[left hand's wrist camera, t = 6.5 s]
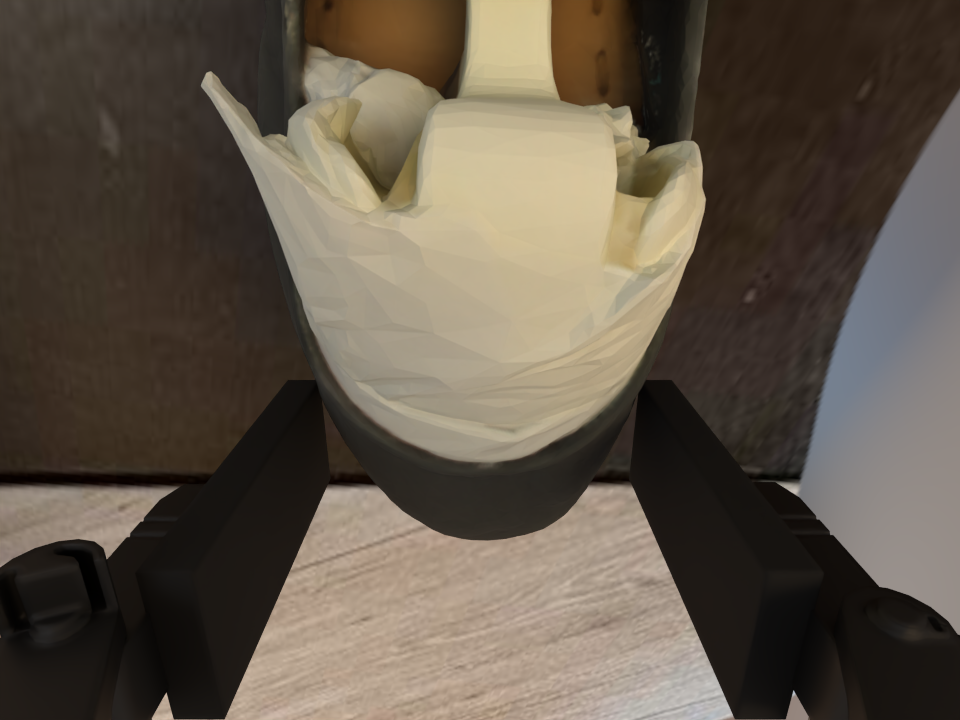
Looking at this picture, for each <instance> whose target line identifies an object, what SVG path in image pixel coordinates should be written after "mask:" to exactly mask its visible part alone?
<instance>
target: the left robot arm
mask: <svg viewBox="0 0 960 720" xmlns="http://www.w3.org/2000/svg"><path fill="white" fill-rule="evenodd" d="M629 479H630V481H631V484H632V486H633V488H634V491H635V493H636V495H637V497H638V500H639V502H640V504H641V506H642V509H643V511H644V513H645V516H646V518H647V520H648V522H649V525H650V527H651V529H652V532H653V534H654V536H655V538H656V541H657V543H658V545H659V547H660V550H661V552H662V554H663V557H664V559H665V561H666V563H667V566H668V568H669V570H670V572H671V575H672V577H673V579H674V582H675V584H676V586H677V588H678V591H679V593H680V595H681V598H682V600H683V602H684V604H685V607H686V609H687V611H688V613H689V616H690V618H691V620H692V623H693V625H694V627H695V629H696V632H697V634H698V636H699V639H700V641H701V643H702V645H703V648H704V650H705V652H706V654H707V657H708V659H709V661H710V664H711V666H712V668H713V670H714V673H715V675H716V677H717V680H718V682H719V684H720V686H721V689H722V691H723V693H724V695H725V698H726V700H727V702H728V705H729V707H730V709H731V711H732V714H733V716H734V718H735V719H786V716H787V712H788V709H789V705H790V701H791V697H792V694H793V690H794V691H795V693H796V695H797V697H798V698H799V700H800V702H801V704H802V705H803V707H804V709H805V711H806V713H807V714H808V716H809V718H808V720H960V635H958V634H957V633H956V632H955V630H954V629H953V627H952V626H951V625H950V623H949V622H948V621H947V620H946V619H945V618H943V617H942V616H941V615H940V614H938V613H937V612H936V611H935V610H934V609H932V608H931V607H929V606H928V605H926V604H924V603H922V602H920V601H918V600H917V599H915V598H913V597H911V596H909V595H906V594H903V593H900V592H897V591H894V590H891V589H888V588H882V587H879V586H878V585H877V584H876V583H875V582H874V580H873V579H872V578H871V577H870V576H869V575H868V574H867V573H866V571H865V570H864V569H863V568H862V567H861V566H860V565H859V564H858V562H857V561H856V560H855V559H854V558H853V557H852V556H851V555H850V554H849V552H848V551H847V550H846V549H845V548H844V547H843V546H842V545H841V543H840V542H839V541H838V540H837V539H836V538H835V537H834V536H833V535H830V531H829V530H828V529H827V528H826V527H825V525H824V524H823V523H822V522H821V521H820V520H817V519H816V515H815V514H814V513H813V512H812V511H811V510H810V509H809V507H808V506H807V505H806V504H805V503H804V502H803V501H802V500H801V499H800V498H799V497H798V496H796V495H795V494H793V493H791V492H790V491H788V490H787V489H785V488H784V487H782V486H780V485H779V484H777V483H776V482H752V481H751V480H750V478H749V477H748V476H747V475H746V473H745V472H744V471H743V470H742V468H741V467H740V466H739V465H738V463H737V462H736V461H735V460H734V458H733V457H732V456H731V455H730V453H729V452H728V451H727V449H726V448H725V447H724V446H723V444H722V443H721V442H720V441H719V439H718V438H717V437H716V436H715V434H714V433H713V432H712V431H711V429H710V428H709V427H708V426H707V424H706V423H705V422H704V420H703V419H702V418H701V417H700V415H699V414H698V413H697V412H696V410H695V409H694V408H693V407H692V405H691V404H690V403H689V402H688V400H687V399H686V398H685V397H684V395H683V394H682V393H681V392H680V390H679V389H678V388H677V386H676V385H675V384H674V383H673V381H672V380H645V382H644V384H643V386H642V388H641V390H640V391H639V393H638V402H637V411H636V420H635V430H634V439H633V448H632V458H631V467H630V476H629ZM329 480H330V471H329V462H328V453H327V443H326V434H325V425H324V415H323V406H322V398H321V396H320V392H319V389H318V385H317V382H316V380H288V381H287V382H286V383H285V385H284V386H283V387H282V388H281V390H280V391H279V392H278V393H277V395H276V396H275V397H274V398H273V400H272V401H271V402H270V404H269V405H268V406H267V407H266V409H265V410H264V411H263V412H262V414H261V415H260V416H259V417H258V419H257V420H256V421H255V422H254V424H253V425H252V426H251V427H250V429H249V430H248V431H247V432H246V434H245V435H244V436H243V438H242V439H241V440H240V441H239V443H238V444H237V445H236V446H235V448H234V449H233V450H232V451H231V453H230V454H229V455H228V456H227V458H226V459H225V460H224V461H223V463H222V464H221V465H220V466H219V468H218V469H217V470H216V472H215V473H214V474H213V475H212V477H211V478H210V479H209V480H208V482H207V483H206V484H184V485H182V486H181V487H179V488H178V489H176V490H175V491H173V492H171V493H170V494H168V495H167V496H165V497H164V498H162V499H160V500H159V502H158V503H157V504H156V505H155V506H154V507H153V508H152V509H151V511H150V512H149V513H148V514H147V515H146V516H145V517H144V521H143V522H140V523H139V524H138V525H137V526H136V527H135V529H134V530H133V531H132V532H131V533H130V537H127V538H126V539H125V540H124V541H123V542H122V543H121V544H120V546H119V547H118V548H117V549H116V550H115V551H114V552H113V553H112V555H111V556H110V557H109V558H108V559H106V556H105V552H104V549H103V548H102V547H101V546H100V545H98V544H97V543H96V542H94V541H87V540H81V539H75V540H67V541H58V542H54V543H51V544H48V545H44V546H41V547H38V548H34V549H32V550H30V551H28V552H26V553H24V554H22V555H20V556H18V557H16V558H13V559H12V560H10V561H9V562H7V563H6V564H5V565H3V566H2V567H0V635H1V638H0V720H152V717H153V715H154V713H155V711H156V710H157V708H158V706H159V704H160V702H161V701H162V699H163V697H164V695H165V694H166V692H167V696H168V699H169V703H170V707H171V711H172V714H173V718H174V719H225V717H226V715H227V713H228V710H229V708H230V706H231V704H232V701H233V699H234V697H235V694H236V692H237V690H238V688H239V685H240V683H241V681H242V678H243V676H244V674H245V672H246V669H247V667H248V665H249V663H250V660H251V658H252V656H253V653H254V651H255V649H256V647H257V644H258V642H259V640H260V637H261V635H262V633H263V631H264V628H265V626H266V624H267V622H268V619H269V617H270V615H271V612H272V610H273V608H274V606H275V603H276V601H277V599H278V597H279V594H280V592H281V590H282V587H283V585H284V583H285V581H286V578H287V576H288V574H289V571H290V569H291V567H292V565H293V562H294V560H295V558H296V556H297V553H298V551H299V549H300V546H301V544H302V542H303V540H304V537H305V535H306V533H307V530H308V528H309V526H310V524H311V521H312V519H313V517H314V515H315V512H316V510H317V508H318V505H319V503H320V501H321V499H322V496H323V494H324V492H325V490H326V487H327V485H328V483H329Z"/></svg>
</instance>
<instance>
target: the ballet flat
mask: <svg viewBox="0 0 960 720" xmlns="http://www.w3.org/2000/svg"><path fill="white" fill-rule="evenodd" d="M707 4H708V0H265V8H266V20H265V24H264V28H263V32H262V36H261V42H260V50H259V66H258V126H257V124H256V122H255V121H254V119H253V117H252V116H251V114H250V113H249V111H248V110H247V108H246V107H245V106H244V105H242V104H241V103H239V102H237V101H236V100H235V98H234V97H233V96H232V95H231V94H230V93H229V92H228V91H227V90H226V88H225V87H224V86H223V85H222V84H221V82H220V80H219V78H218V77H217V76H216V75H215V74H213V73H212V72H207V73H206V75H205V77H204V80H203V82H202V84H201V87H202V88H203V89H204V91H205V92H206V93H207V94H208V96H209V97H210V98H211V100H212V102H213V103H214V105H215V106H216V108H217V110H218V111H219V113H220V115H221V116H222V118H223V120H224V121H225V123H226V124H227V126H228V128H229V129H230V131H231V133H232V134H233V136H234V138H235V140H236V142H237V144H238V146H239V148H240V150H241V152H242V154H243V156H244V158H245V160H246V162H247V164H248V166H249V168H250V170H251V172H252V174H253V176H254V179H255V181H256V183H257V186H258V188H259V191H260V193H261V196H262V198H263V201H264V206H265V213H266V219H267V225H268V230H269V235H270V239H271V244H272V248H273V253H274V257H275V262H276V266H277V270H278V274H279V277H280V281H281V284H282V288H283V291H284V294H285V298H286V301H287V305H288V308H289V312H290V315H291V319H292V322H293V325H294V327H295V330H296V333H297V336H298V338H299V341H300V344H301V346H302V349H303V352H304V354H305V356H306V358H307V361H308V363H309V365H310V367H311V370H312V372H313V375H314V377H315V380H316V382H317V385H318V389H319V392H320V396H321V398H322V400H323V402H324V404H325V406H326V409H327V411H328V413H329V415H330V417H331V419H332V420H333V422H334V424H335V426H336V427H337V429H338V431H339V433H340V434H341V436H342V438H343V440H344V441H345V443H346V444H347V446H348V447H349V449H350V450H351V451H352V453H353V454H354V456H355V457H356V458H357V460H358V461H359V463H360V464H361V466H362V467H363V469H364V470H365V471H366V472H367V474H368V475H369V476H370V477H371V479H372V480H373V481H374V483H375V484H376V485H377V486H378V487H379V488H380V489H381V490H382V491H383V492H384V493H385V494H386V495H387V496H388V498H389V499H390V500H391V501H392V502H394V503H395V504H396V505H397V506H398V507H399V508H400V509H401V510H402V511H404V512H405V513H407V514H408V515H410V516H411V517H413V518H414V519H416V520H418V521H420V522H421V523H423V524H425V525H426V526H428V527H429V528H431V529H433V530H435V531H437V532H439V533H442V534H444V535H448V536H452V537H457V538H461V539H468V540H498V539H507V538H511V537H516V536H521V535H526V534H529V533H532V532H535V531H538V530H541V529H544V528H546V527H547V526H549V525H550V524H552V523H554V522H555V521H557V520H558V519H560V518H561V517H562V516H564V515H565V514H566V513H567V512H568V511H569V510H570V508H571V507H572V506H573V505H574V504H575V503H576V502H577V500H578V499H579V497H580V496H581V495H582V494H583V492H584V491H585V490H586V489H587V487H588V485H589V483H590V482H591V481H592V479H593V478H594V476H595V474H596V473H597V471H598V470H599V468H600V466H601V465H602V463H603V462H604V460H605V459H606V457H607V455H608V453H609V452H610V450H611V448H612V446H613V444H614V443H615V441H616V439H617V437H618V435H619V433H620V431H621V430H622V428H623V425H624V424H625V422H626V420H627V419H628V416H629V414H630V412H631V409H632V407H633V404H634V401H635V398H636V396H637V394H638V393H639V391H640V390H641V388H642V386H643V384H644V382H645V380H646V378H647V376H648V374H649V372H650V370H651V368H652V366H653V364H654V361H655V359H656V357H657V355H658V352H659V350H660V348H661V346H662V343H663V339H664V336H665V332H666V329H667V325H668V322H669V318H670V315H671V310H672V305H673V300H674V296H675V293H676V290H677V288H678V285H679V283H680V280H681V278H682V275H683V272H684V269H685V266H686V264H687V262H688V260H689V258H690V256H691V254H692V252H693V250H694V246H695V243H696V239H697V236H698V232H699V229H700V225H701V221H702V218H703V214H704V210H705V201H706V198H705V195H704V192H703V189H702V171H703V167H702V161H701V155H700V150H699V147H698V145H697V144H696V143H695V142H694V141H690V140H691V135H692V130H693V121H694V108H695V100H696V94H697V86H698V77H699V73H700V65H701V55H702V46H703V37H704V29H705V20H706V12H707Z"/></svg>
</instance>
